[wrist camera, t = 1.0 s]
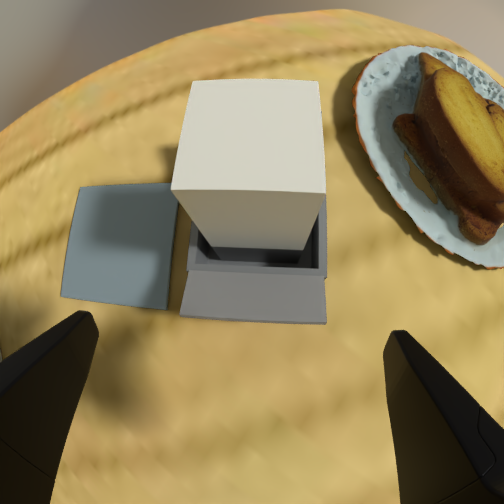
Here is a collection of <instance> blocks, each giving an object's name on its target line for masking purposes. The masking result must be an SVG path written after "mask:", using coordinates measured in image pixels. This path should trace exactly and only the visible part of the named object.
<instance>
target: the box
mask: <svg viewBox="0 0 504 504" xmlns="http://www.w3.org/2000/svg"><path fill="white" fill-rule="evenodd" d="M171 191H172V192H173V194H174V195H175V197H176V198H177V200H178V201H179V202H180V204H181V205H182V207H183V208H184V209H185V211H186V212H187V214H188V215H189V216H190V218H191V219H192V221H193V222H194V223H195V225H196V226H197V227H198V229H199V230H200V232H201V233H202V234H203V236H204V237H205V238H206V240H207V241H208V243H209V244H210V245H211V247H212V248H213V249H214V251H215V252H216V254H217V255H218V256H219V258H220V259H221V260H222V261H243V262H267V263H293V264H297V263H298V261H299V259H300V256H301V254H302V252H303V249H304V247H305V244H306V242H307V240H308V237H309V235H310V232H311V230H312V227H313V225H314V222H315V220H316V218H317V215H318V213H319V210H320V208H321V205H322V203H323V200H324V198H325V195H326V178H325V158H324V143H323V129H322V116H321V105H320V95H319V85H318V81H305V80H286V79H223V80H204V81H193V83H192V87H191V91H190V95H189V99H188V104H187V108H186V112H185V117H184V122H183V126H182V131H181V136H180V141H179V146H178V151H177V156H176V162H175V167H174V173H173V178H172V184H171Z"/></svg>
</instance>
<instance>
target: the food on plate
mask: <svg viewBox="0 0 504 504" xmlns="http://www.w3.org/2000/svg"><path fill="white" fill-rule="evenodd" d="M352 92H353V94H354V95H355V96H354V98H353V100H352V105H353V107H354V109H355V114H354V115H353V117H355V118H356V130H357V133H358V135H359V142H360V144H361V145H362V147H363V149H364V151H365V152H366V153H367V154H368V155H369V159H370V165H371V166H372V168H373V169H374V170H375V171H376V172H378V173H379V176H378V177H376V178H377V179H379V180H380V181H381V182H383V183H384V185H385V187H386V188H387V189H388V190H389V192H390V193H391V196H392V197H393V198H394V199H395V202H396V204H397V206H398V207H399V208H400V209H401V210H404V211H406V212H407V213H408V214H409V215H410V216H411V218H412V219H413V220H414V222H415V223H416V225H417V227H418V229H419V230H420V232H421V233H423V232H425V233H426V235H427V237H428V238H429V239H431V240H432V241H433V242H435V243H437V244H439V245H442V246H443V248H444V249H445V250H446V251H447V252H448V253H450V254H452V255H453V252H454V253H456V254H458V255H460V256H462V257H464V258H465V259H467V260H469V261H472V262H474V263H475V264H476V265H479V264H482V265H484V266H485V267H486V268H487V269H488V270H489V269H493V268H496V267H497V268H500V269H502V268H504V225H503V227H502V228H499V226H500V225H501V224H502V223H504V87H502V86H501V85H500V84H499V83H498V82H497V81H495V80H494V79H493V78H492V77H491V76H490V75H489V74H487V73H486V72H484V71H483V70H481V69H480V68H479V67H477V66H475V65H474V64H472V63H471V62H469V61H468V60H467V59H465V58H463V57H459V56H457V55H455V54H454V53H452V52H450V51H448V50H447V49H444V50H440V49H437V48H434V47H429V46H426V47H424V48H422V47H420V46H414V45H406V46H399V47H397V48H392V49H389V50H387V51H386V52H383V53H379V54H378V55H377V56H373V57H372V58H371V60H370V61H369V62H368V63H367V64H366V65H365V67H364V68H363V70H362V71H361V73H360V74H359V76H358V78H357V80H356V83H355V84H354V86H353V88H352ZM405 151H406V153H407V154H408V155H409V156H410V159H411V160H412V162H413V163H414V164H415V165H416V166H417V167H418V168H419V169H420V171H421V172H422V174H423V175H425V177H426V178H427V180H428V181H429V182H430V187H431V188H432V189H433V191H434V193H435V194H436V196H437V199H438V203H437V204H434V203H432V201H431V200H430V199H429V198H428V197H427V195H426V194H425V193H424V191H422V190H419V189H418V188H417V187H416V185H415V184H414V183H413V181H412V179H411V178H410V176H409V171H410V166H409V165H408V162H407V161H406V160H405V159H404V152H405ZM498 228H499V229H498Z"/></svg>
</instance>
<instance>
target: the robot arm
mask: <svg viewBox="0 0 504 504" xmlns="http://www.w3.org/2000/svg"><path fill="white" fill-rule="evenodd" d="M98 337H99V331H98V328H97V326H96V323H95V321H94V318H93V316H92V314H91V313H90V312H88V311H82V310H79V311H77V312H75V313H74V314H72V315H70V316H69V317H67V318H66V319H64V320H63V321H61V322H60V323H58V324H56V325H55V326H53V327H52V328H50V329H49V330H47V331H46V332H44V333H43V334H41V335H40V336H38V337H37V338H35V339H34V340H32V341H31V342H29V343H28V344H26V345H25V346H23V347H22V348H20V349H19V350H17V351H16V352H14V353H13V354H11V355H10V356H8V357H7V358H6V359H4V360H3V361H1V362H0V504H50V500H51V496H52V492H53V487H54V483H55V479H56V475H57V471H58V467H59V463H60V460H61V456H62V453H63V449H64V446H65V442H66V439H67V436H68V433H69V429H70V426H71V423H72V420H73V417H74V414H75V411H76V408H77V405H78V402H79V399H80V396H81V394H82V391H83V388H84V385H85V383H86V380H87V377H88V373H89V370H90V366H91V362H92V359H93V355H94V351H95V348H96V344H97V341H98ZM383 361H384V372H385V384H386V397H387V405H388V411H389V417H390V423H391V429H392V436H393V442H394V449H395V457H396V465H397V473H398V482H399V492H400V504H504V429H503V428H502V427H501V426H500V425H499V424H498V423H497V422H496V421H495V420H494V419H493V418H492V417H491V416H490V415H489V414H488V413H487V412H486V411H485V409H484V408H483V407H482V406H480V404H479V403H478V402H477V401H476V400H475V399H474V398H473V397H472V396H471V395H470V394H469V393H468V392H467V391H466V390H465V389H464V388H463V387H462V386H461V384H460V383H459V382H458V381H457V380H456V379H455V378H454V377H453V376H452V375H451V374H450V373H449V372H448V371H447V370H446V369H445V368H444V367H443V366H442V365H441V364H440V363H439V362H438V361H437V360H436V359H435V358H434V357H433V356H432V355H431V354H430V353H429V352H428V351H427V350H426V349H425V348H424V347H423V346H422V345H420V344H419V343H418V342H417V341H416V340H415V339H414V338H413V337H412V336H411V335H410V334H409V333H408V332H407V331H405V330H394V331H392V332H391V333H390V336H389V338H388V341H387V343H386V345H385V348H384V351H383Z"/></svg>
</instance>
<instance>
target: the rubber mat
mask: <svg viewBox="0 0 504 504" xmlns="http://www.w3.org/2000/svg"><path fill="white" fill-rule="evenodd" d="M171 184H172V183H149V184H124V185H106V186H90V187H80V191H79V195H78V199H77V203H76V208H75V212H74V217H73V221H72V226H71V231H70V236H69V242H68V247H67V253H66V260H65V266H64V274H63V281H62V290H61V297H66V298H73V299H80V300H87V301H94V302H101V303H109V304H117V305H125V306H134V307H143V308H152V309H162V310H167V306H168V294H169V283H170V272H171V263H172V254H173V245H174V237H175V229H176V221H177V213H178V206H179V201H178V200H177V198H176V197H175V195H174V194H173V192H172V191H171Z"/></svg>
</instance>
